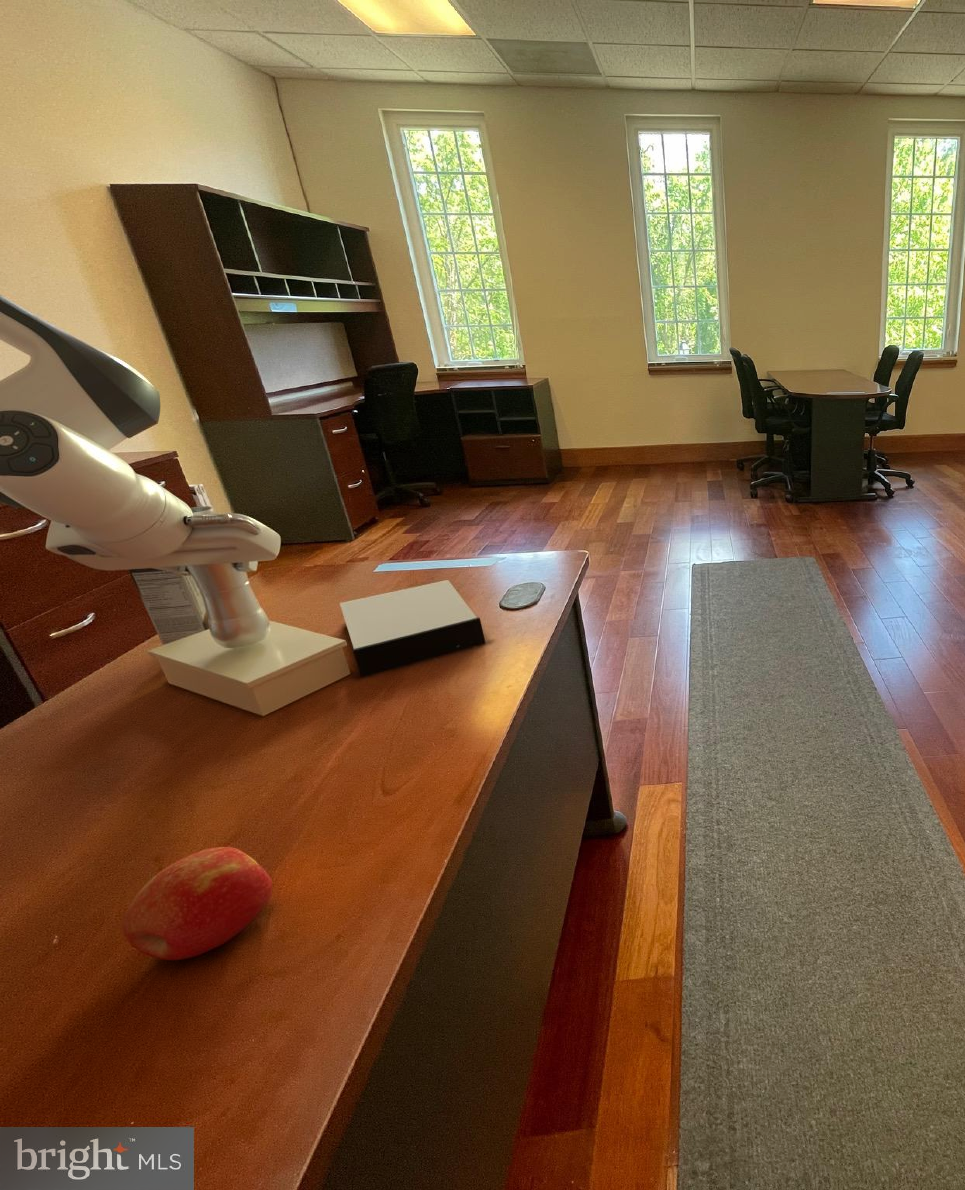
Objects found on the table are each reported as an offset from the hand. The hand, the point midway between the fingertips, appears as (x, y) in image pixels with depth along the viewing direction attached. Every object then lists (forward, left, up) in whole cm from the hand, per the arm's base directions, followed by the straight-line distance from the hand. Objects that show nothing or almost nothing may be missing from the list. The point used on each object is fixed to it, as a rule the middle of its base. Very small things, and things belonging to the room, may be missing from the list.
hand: (220, 568), depth 85 cm
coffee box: (-19, +2, -18) cm, 26 cm away
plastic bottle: (0, -1, -12) cm, 12 cm away
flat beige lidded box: (0, -1, -18) cm, 18 cm away
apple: (+43, -29, -18) cm, 55 cm away
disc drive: (+8, +19, -18) cm, 27 cm away
